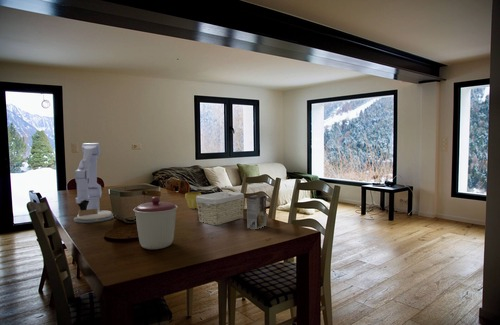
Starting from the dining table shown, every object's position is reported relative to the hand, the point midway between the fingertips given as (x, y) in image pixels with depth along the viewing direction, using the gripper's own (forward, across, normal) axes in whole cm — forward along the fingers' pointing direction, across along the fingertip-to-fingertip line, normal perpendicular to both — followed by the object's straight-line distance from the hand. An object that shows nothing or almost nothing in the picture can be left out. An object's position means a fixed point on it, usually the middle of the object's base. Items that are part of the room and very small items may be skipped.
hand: (83, 213), depth 190 cm
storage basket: (+3, +14, +78) cm, 80 cm away
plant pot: (+4, -24, +61) cm, 66 cm away
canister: (+3, +56, +50) cm, 75 cm away
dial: (+2, -2, +6) cm, 6 cm away
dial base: (+3, -2, +6) cm, 7 cm away
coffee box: (+3, +32, +96) cm, 102 cm away
